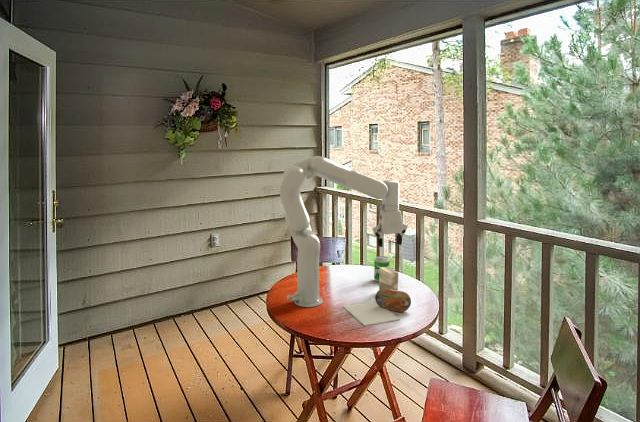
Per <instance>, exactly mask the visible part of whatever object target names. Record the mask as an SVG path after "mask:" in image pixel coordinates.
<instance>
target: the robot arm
mask: <svg viewBox="0 0 640 422" xmlns="http://www.w3.org/2000/svg"><path fill="white" fill-rule="evenodd" d="M314 177H319V178H321V179H324V180H326V181H329V182H331V183H333V184H335V185H338V186H341V187H344V188H345V189H349V190H353V191H357V192H359V193H361V194H363V195H366V196H368V197H370V198H373V199H376V200H381V205H380V206H379V209H380V212H379V216H378V217H379V219H378V225H376V226H374V227H373V228H372V229H371V230H372V233H373V235H374V236H376V238H377V242H376V243H377V246H378V247H380V248H383V246H384V243H383V242H384V239H383V236H384V235H394V234H396V244H397V245H399V246H402V245H403V244H402V242H403V236H404V235H405V233H406V231H407V229H408V225H406V224H404V223H403V216H402V212H401V211H402V210H400V182H399V180H396V179H385V180H379V179H376V178H373V177H371V176H368V175H366V174H363V173H362V172H359V171H358V170H355V169H353V168H351V167H350V166H346V165H344V164H342V163H339V162H337V161H335V160H332V159H329V158H327V157H325V156H320V155H315V156H311V157H309V158H307V159H304V160H302V161H299V162H296V163H293V164H291V165H288V166H287V167H286V168H284V170H283V180H282V182H281V183H280V184H281V185H280V188H279V197H280V200H281V204H282V206H283V210H284V213H285V214H284V215H285V216H284V217H285V223H286V225H287V227H288V230H289V233H290V235H291V237H292V240H293V242H294V244H295V246H296V247H297V255H296V257H297V258H296V259H297V260H296V261H297V263H296V269H297V276H296V277H297V291H295V293H293V294H287V295H286V300H288V301H289V300H291V301H292V302H293V303H294V305H296V306H298V307H303V308H314V307H315V308H316V307H318V306H320V305H322V304H323V302H324V300H323V297H322V296H320V253H321V241H320V238H319V237H318V235H317V234H316V233H315V232H314V231H313V230H312V227H311V223H310V222H311V218H310V215H309V213H308V210H307V209H306V206H305V203H304V201H303V198H302V194H301V191H302V187H303V186H304V184H305V183H306V181H307V180H310V179H312V178H314ZM377 230H378V231H377Z"/></svg>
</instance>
